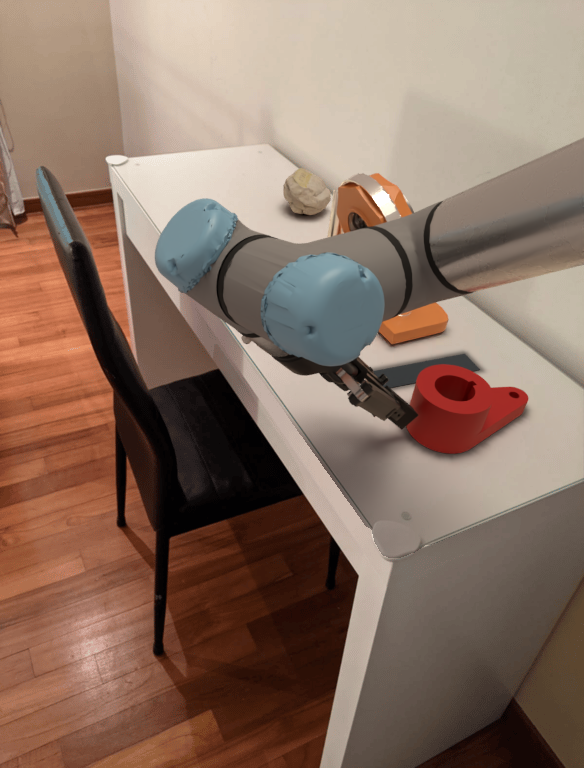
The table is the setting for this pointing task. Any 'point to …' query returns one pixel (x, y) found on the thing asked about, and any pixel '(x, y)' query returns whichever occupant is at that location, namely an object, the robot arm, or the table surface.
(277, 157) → the table surface
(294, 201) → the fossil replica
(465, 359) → the strip
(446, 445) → the lever
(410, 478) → the table surface
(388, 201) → the desk clock
